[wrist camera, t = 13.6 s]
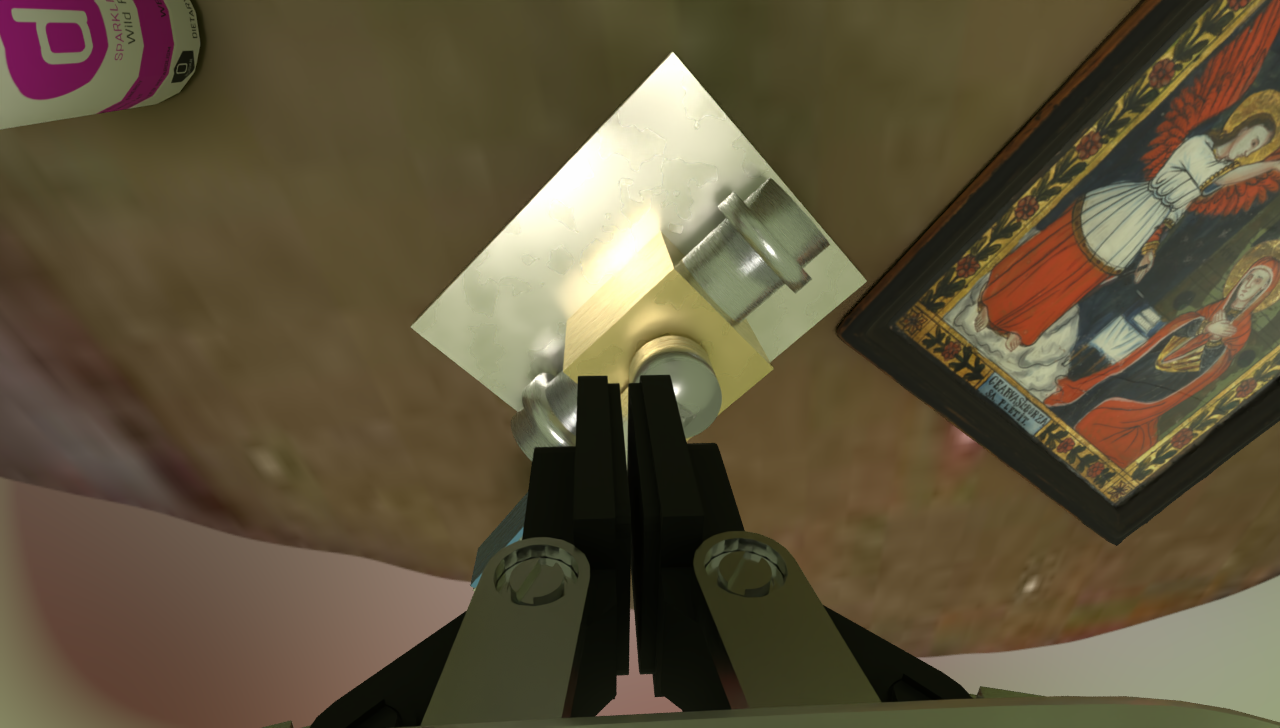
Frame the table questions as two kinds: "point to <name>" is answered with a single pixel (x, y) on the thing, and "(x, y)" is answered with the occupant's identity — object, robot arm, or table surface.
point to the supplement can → (92, 56)
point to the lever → (656, 357)
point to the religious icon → (1110, 272)
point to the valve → (640, 263)
